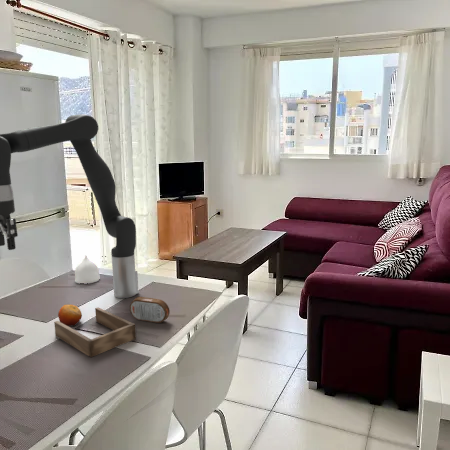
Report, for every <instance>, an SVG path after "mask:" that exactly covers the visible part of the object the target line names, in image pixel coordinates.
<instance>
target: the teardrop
mask: <svg viewBox="0 0 450 450" xmlns="http://www.w3.org/2000/svg"><path fill="white" fill-rule="evenodd" d="M100 276H101V275H100V269H99V267H98V265H97V264H96V263H95V262H94V261H93V260H91V259H90V258H89V257H87V255H84V257H83V259H82V260H80V262H78V264H77V265H76V267H75V269H74V280H75V283H77V284H80V283H84V284H83V285H85V284H87V283H88V284H92V283H97V282H98V281H100V280H99V279H101V277H100Z"/></svg>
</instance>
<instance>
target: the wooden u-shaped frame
mask: <svg viewBox="0 0 450 450" xmlns="http://www.w3.org/2000/svg"><path fill="white" fill-rule="evenodd" d="M94 310H95V311H94V312H95V322H96V323H99V324H100V325H102V326H104V327H107V328H108V329H111V330H112V331H110V332H107V333H104V334H101V335H99V336H97V337H93V338H90V337H88V336H86V335H84V334H82V333H81V332H79V331H77V330H76V329H73V328H72V327H71V326H66V325H65V324H63V323H61V322H60V320H56V321H54V334H55V337H56V338H58V339H60V340H62V341H64V343H66V344H68V345H70V346H72V347H73V348H75V349H77V350H78V351H79V352H81V353H83V354H84V355H86V356H88V357H90V358H92V357H96V356H98V355H101V354H103V353H105V352H107V351H108V352H109V351H110V350H112V349H115V348H116V347H120V346H122V345H124V344H126V343H129V342H131V341H134V340H136V339H137V334H136V333H137V331H136V324H135V323H133V322H131V321H129V320H127V319H125V318H123V317H121V316H118V315H116V314H114V313H111V312H109V311H107V310H105V309H102V308H100V307H95V309H94Z"/></svg>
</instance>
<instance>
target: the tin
mask: <svg viewBox="0 0 450 450" xmlns="http://www.w3.org/2000/svg"><path fill="white" fill-rule="evenodd" d="M170 311H171V310H170V307H169V305H168V304H167V303H166V302H165V301H164V300H162V299H160V298H153V297H152V298H151V297H145V296H136V297H135V298H134V299H133V300H132V301H131V302H130V303H129V312H130V314H131V316H132V317H133V318H134V319H135V320H137V321H143V322H150V323H155V324H160V323H163V322H164V321H166V320H167V319H168V318H169V316H170V314H171V313H170Z"/></svg>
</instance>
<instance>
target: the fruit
mask: <svg viewBox="0 0 450 450" xmlns="http://www.w3.org/2000/svg"><path fill="white" fill-rule="evenodd" d="M57 316H58V317H57V318H58V321H59V322H61V323H63V324H65V325H66V326H68V327H74V326H76V325H77V324H79V322H80V321H81V319H82V317H83V314H82V311H81V309H80V308H79V307H78V306H77V305H74V304H64V305H63V306H61V307H60V309H59V311H58V313H57Z"/></svg>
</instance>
